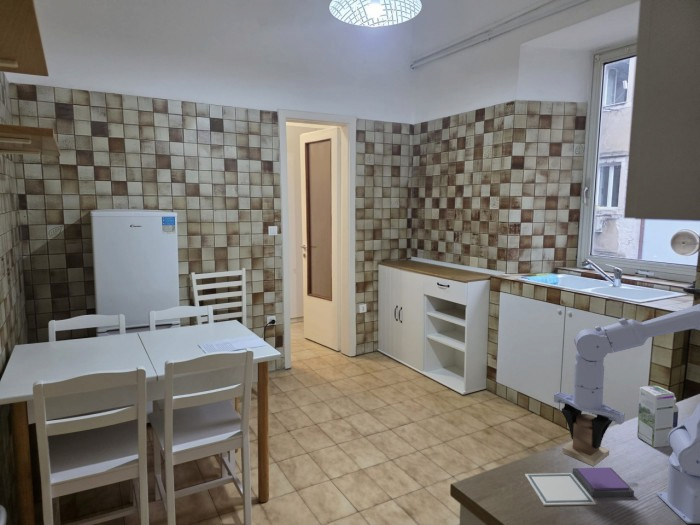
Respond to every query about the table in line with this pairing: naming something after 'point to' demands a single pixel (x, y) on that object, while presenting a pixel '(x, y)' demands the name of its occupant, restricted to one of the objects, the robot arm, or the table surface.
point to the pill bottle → (675, 415)
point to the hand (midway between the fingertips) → (585, 442)
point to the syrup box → (655, 415)
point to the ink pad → (602, 482)
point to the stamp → (584, 442)
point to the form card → (559, 489)
